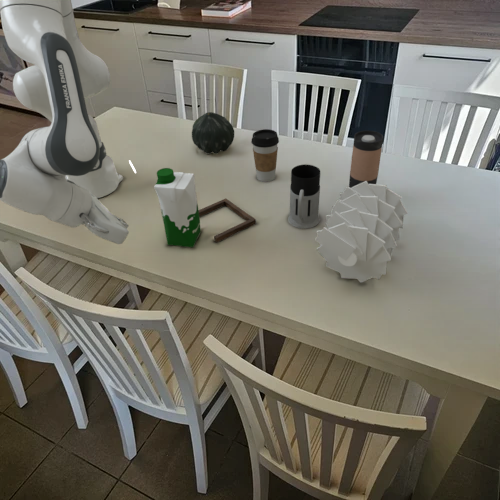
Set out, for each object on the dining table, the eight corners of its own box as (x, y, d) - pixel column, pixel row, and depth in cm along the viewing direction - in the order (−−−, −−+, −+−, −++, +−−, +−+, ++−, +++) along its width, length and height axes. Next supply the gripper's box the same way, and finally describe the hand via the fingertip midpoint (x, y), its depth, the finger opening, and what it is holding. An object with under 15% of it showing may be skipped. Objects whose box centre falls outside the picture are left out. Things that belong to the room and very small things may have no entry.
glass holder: (321, 211, 127) (324, 164, 118) (315, 242, 117) (318, 192, 107) (290, 209, 129) (291, 162, 120) (282, 238, 118) (282, 189, 109)
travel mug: (376, 196, 132) (386, 132, 120) (370, 209, 127) (380, 144, 114) (350, 191, 135) (358, 128, 122) (343, 204, 130) (350, 140, 117)
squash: (221, 120, 167) (197, 98, 155) (248, 133, 159) (225, 111, 147) (201, 153, 168) (175, 133, 156) (226, 167, 160) (202, 148, 147)
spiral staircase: (382, 245, 120) (360, 304, 102) (327, 209, 122) (296, 261, 103) (426, 197, 108) (410, 255, 90) (364, 158, 109) (335, 206, 91)
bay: (188, 219, 127) (187, 214, 126) (226, 202, 133) (225, 198, 132) (216, 242, 118) (216, 238, 117) (256, 223, 124) (255, 219, 123)
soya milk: (174, 227, 124) (162, 162, 112) (205, 230, 123) (196, 164, 110) (163, 247, 118) (149, 180, 105) (196, 250, 116) (185, 182, 104)
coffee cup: (248, 181, 142) (246, 137, 133) (258, 169, 148) (257, 125, 139) (273, 185, 140) (273, 140, 130) (282, 172, 146) (282, 129, 136)
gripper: (98, 213, 89) (151, 234, 99) (63, 175, 102) (113, 197, 112) (83, 240, 90) (137, 258, 100) (50, 199, 103) (101, 218, 113)
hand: (124, 225), depth 106 cm, fingers closed
